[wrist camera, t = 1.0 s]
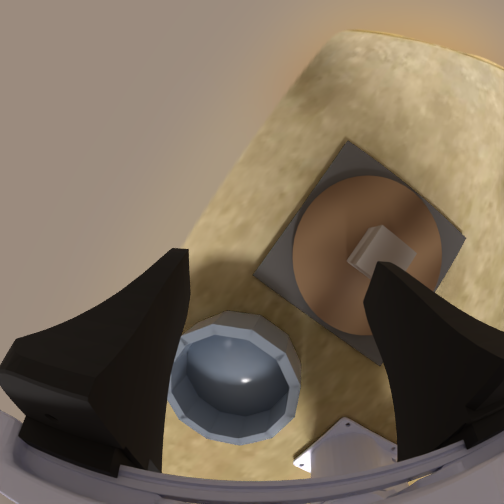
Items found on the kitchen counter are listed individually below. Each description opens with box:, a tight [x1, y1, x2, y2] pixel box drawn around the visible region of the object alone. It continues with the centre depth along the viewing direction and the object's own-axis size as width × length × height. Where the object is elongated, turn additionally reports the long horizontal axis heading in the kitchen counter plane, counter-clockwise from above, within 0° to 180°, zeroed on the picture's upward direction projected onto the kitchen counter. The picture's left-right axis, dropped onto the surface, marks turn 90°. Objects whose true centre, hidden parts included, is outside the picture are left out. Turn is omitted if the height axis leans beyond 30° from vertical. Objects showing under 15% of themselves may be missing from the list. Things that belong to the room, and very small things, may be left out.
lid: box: [293, 176, 442, 335], centre depth 20 cm, size 13×13×5 cm
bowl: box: [167, 310, 301, 445], centre depth 23 cm, size 11×11×4 cm
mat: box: [253, 141, 466, 366], centre depth 23 cm, size 14×14×1 cm
